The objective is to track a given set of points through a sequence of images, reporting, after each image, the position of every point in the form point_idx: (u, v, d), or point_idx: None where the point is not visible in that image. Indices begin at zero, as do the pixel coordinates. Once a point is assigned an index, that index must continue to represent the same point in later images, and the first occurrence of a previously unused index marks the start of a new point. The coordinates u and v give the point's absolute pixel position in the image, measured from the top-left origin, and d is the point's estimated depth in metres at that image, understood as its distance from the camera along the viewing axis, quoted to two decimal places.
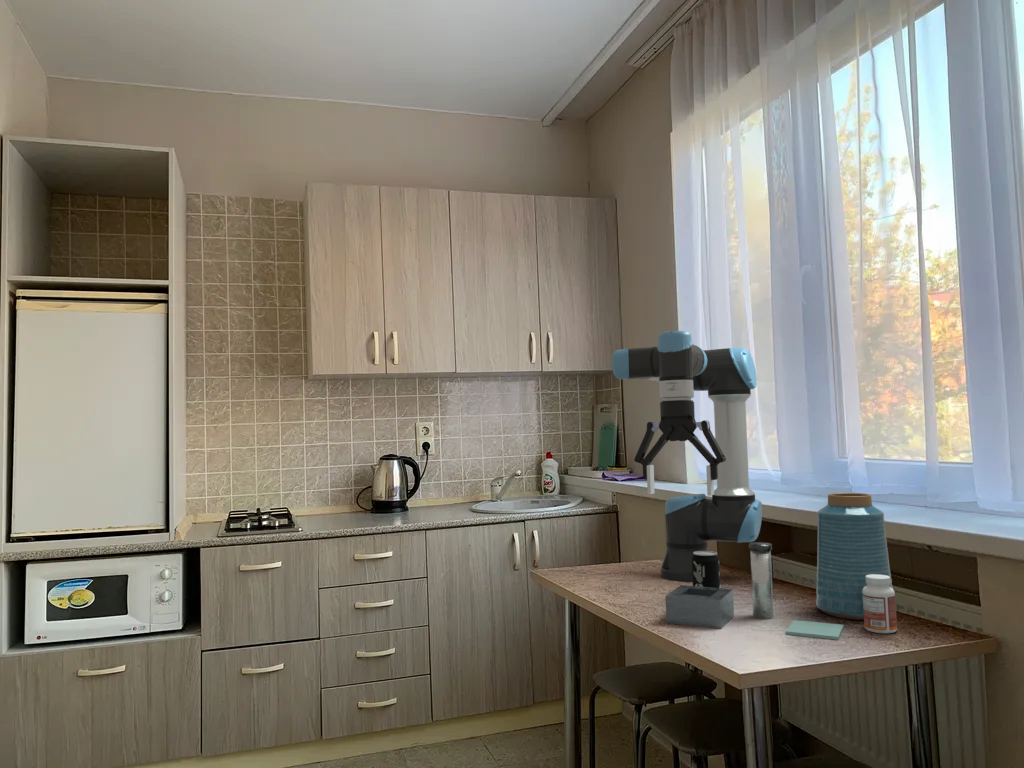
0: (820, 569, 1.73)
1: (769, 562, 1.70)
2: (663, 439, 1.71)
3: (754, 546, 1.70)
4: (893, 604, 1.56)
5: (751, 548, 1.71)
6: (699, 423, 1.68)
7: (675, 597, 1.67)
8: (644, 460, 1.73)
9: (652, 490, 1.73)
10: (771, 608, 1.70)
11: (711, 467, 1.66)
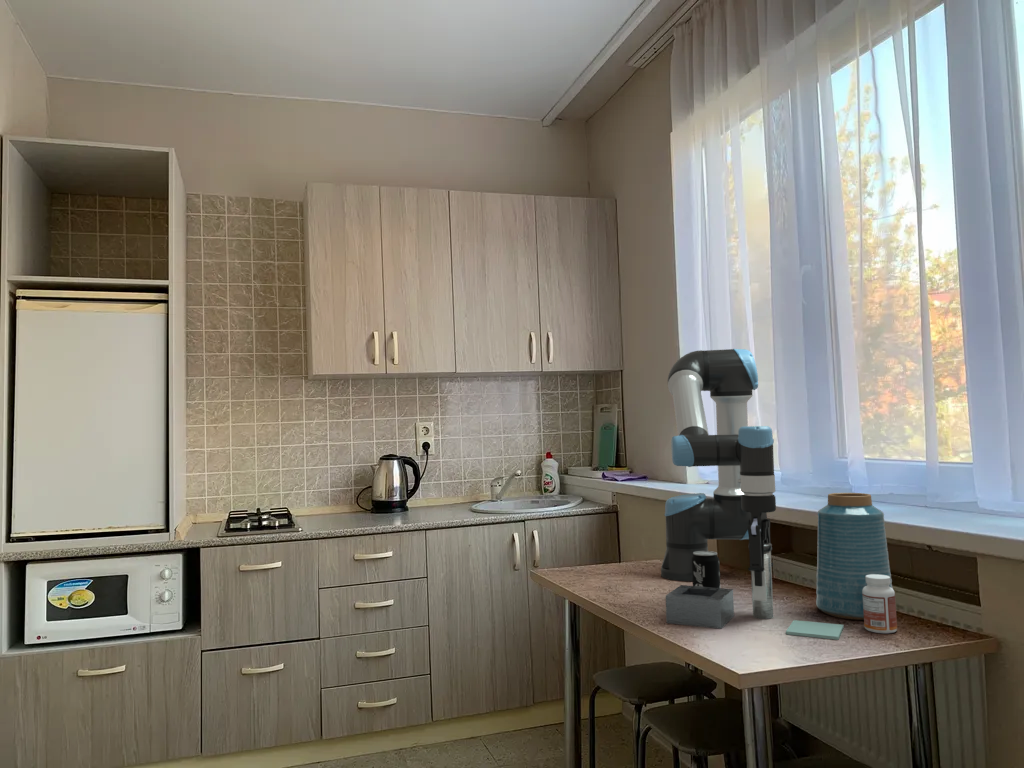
0: (820, 569, 1.73)
1: (769, 562, 1.70)
2: None
3: None
4: (893, 604, 1.56)
5: None
6: None
7: (675, 597, 1.67)
8: None
9: None
10: (771, 608, 1.70)
11: None
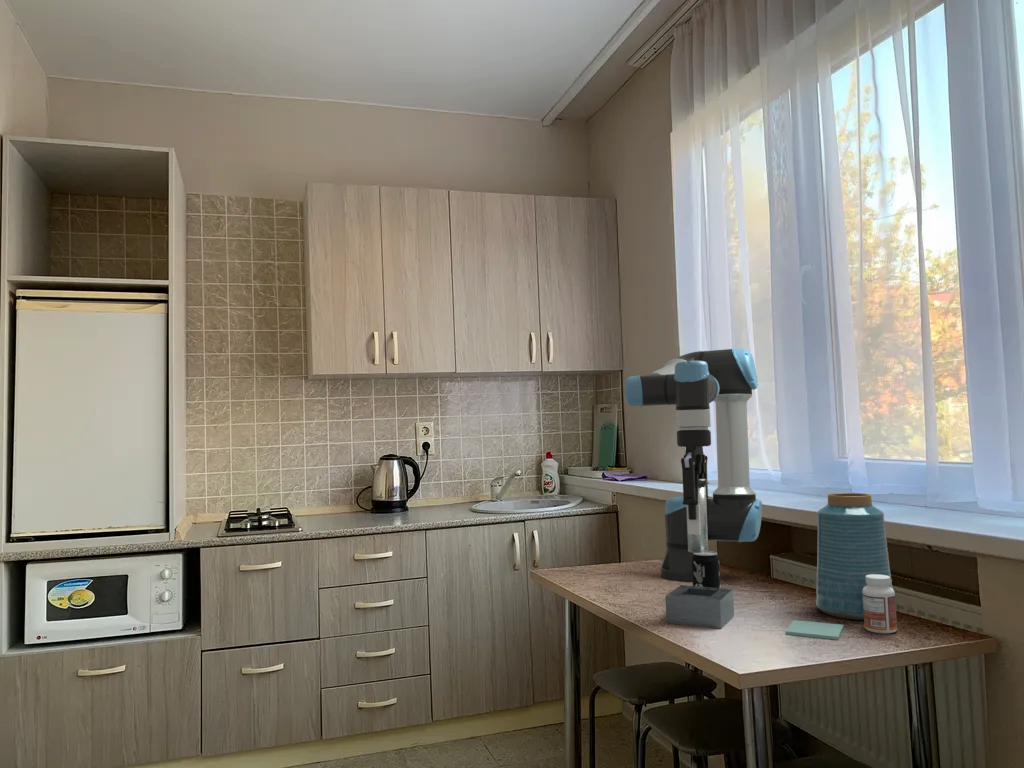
0: (820, 569, 1.73)
1: (704, 496, 1.70)
2: None
3: None
4: (893, 604, 1.56)
5: None
6: None
7: (675, 597, 1.67)
8: None
9: None
10: (706, 542, 1.69)
11: None
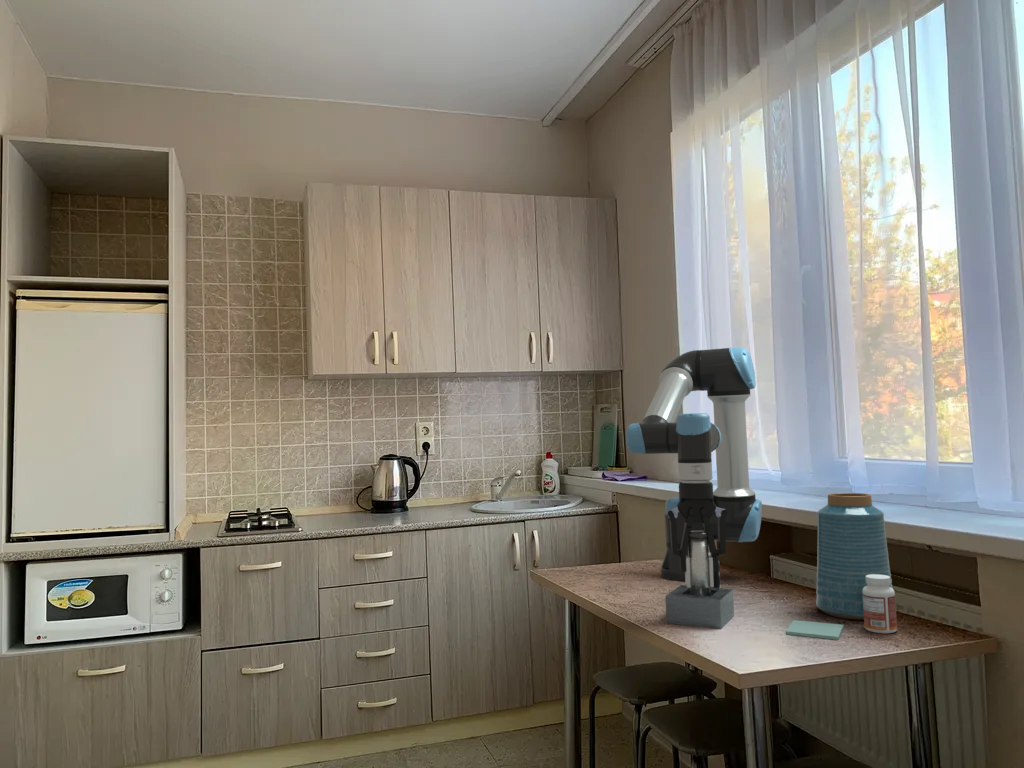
0: (820, 569, 1.73)
1: None
2: (691, 524, 1.70)
3: None
4: (893, 604, 1.56)
5: (707, 536, 1.69)
6: (719, 509, 1.71)
7: (675, 597, 1.67)
8: (682, 552, 1.70)
9: None
10: None
11: (713, 559, 1.70)
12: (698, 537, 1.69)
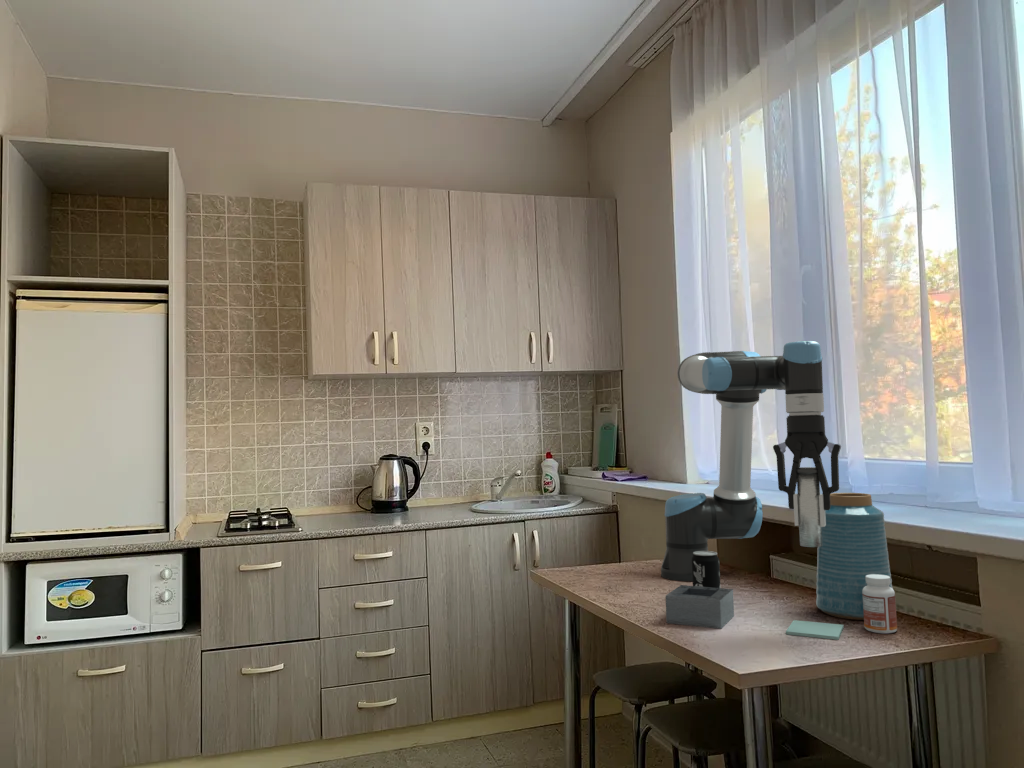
0: (820, 569, 1.73)
1: None
2: (798, 459, 1.60)
3: None
4: (893, 604, 1.56)
5: (816, 472, 1.58)
6: (831, 444, 1.58)
7: (675, 597, 1.67)
8: (789, 489, 1.61)
9: None
10: None
11: (824, 497, 1.58)
12: (805, 472, 1.58)
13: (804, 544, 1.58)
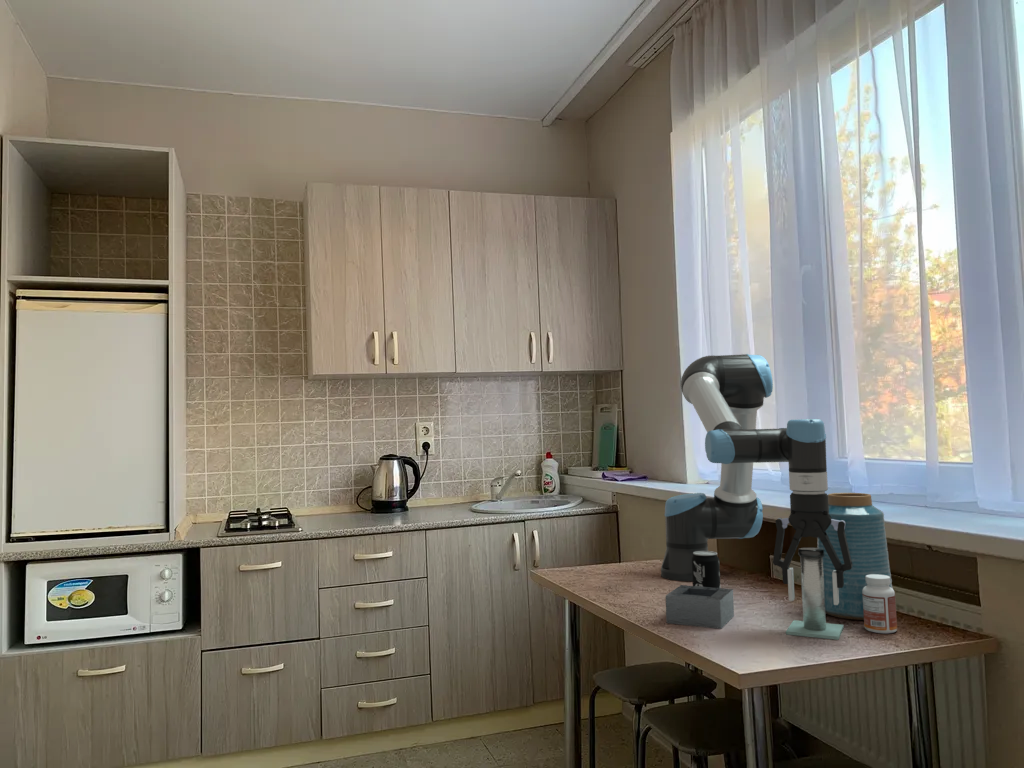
0: None
1: None
2: (799, 537, 1.59)
3: (822, 551, 1.58)
4: (893, 604, 1.56)
5: (820, 555, 1.57)
6: (835, 522, 1.57)
7: (675, 597, 1.67)
8: (784, 564, 1.61)
9: (793, 596, 1.60)
10: None
11: (838, 574, 1.56)
12: (808, 555, 1.57)
13: (808, 627, 1.57)
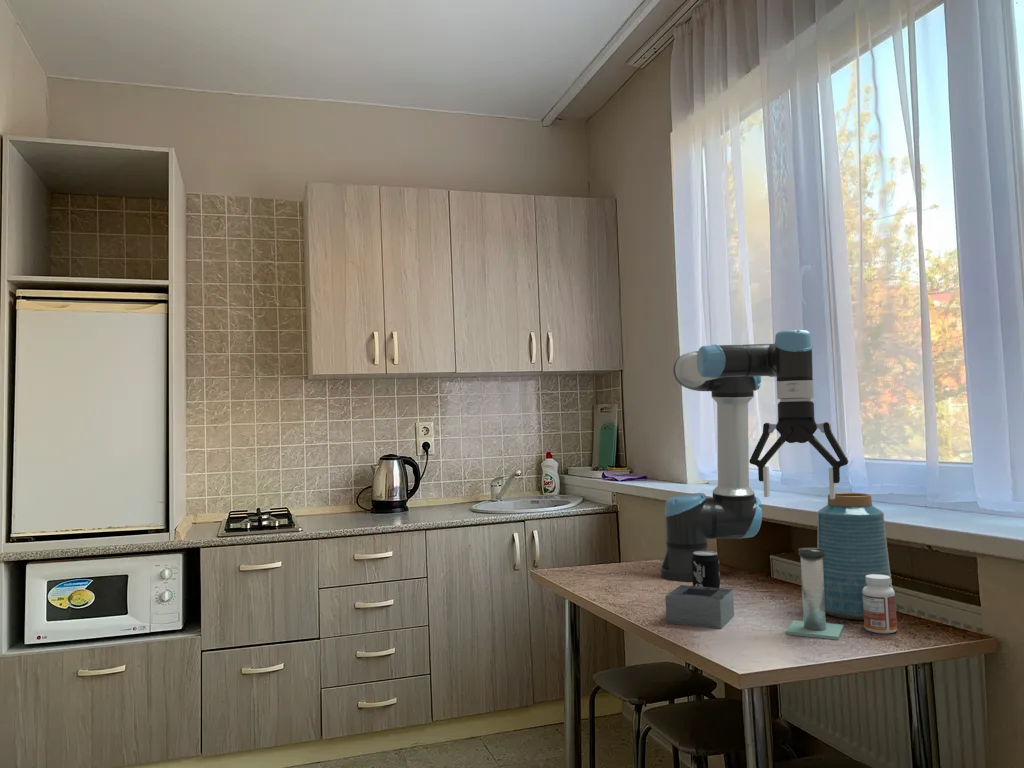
0: None
1: None
2: (782, 441, 1.67)
3: (822, 552, 1.58)
4: (893, 604, 1.56)
5: (820, 555, 1.57)
6: (820, 425, 1.64)
7: (675, 597, 1.67)
8: (760, 462, 1.69)
9: (768, 492, 1.69)
10: None
11: (834, 470, 1.62)
12: (808, 555, 1.57)
13: (808, 627, 1.57)
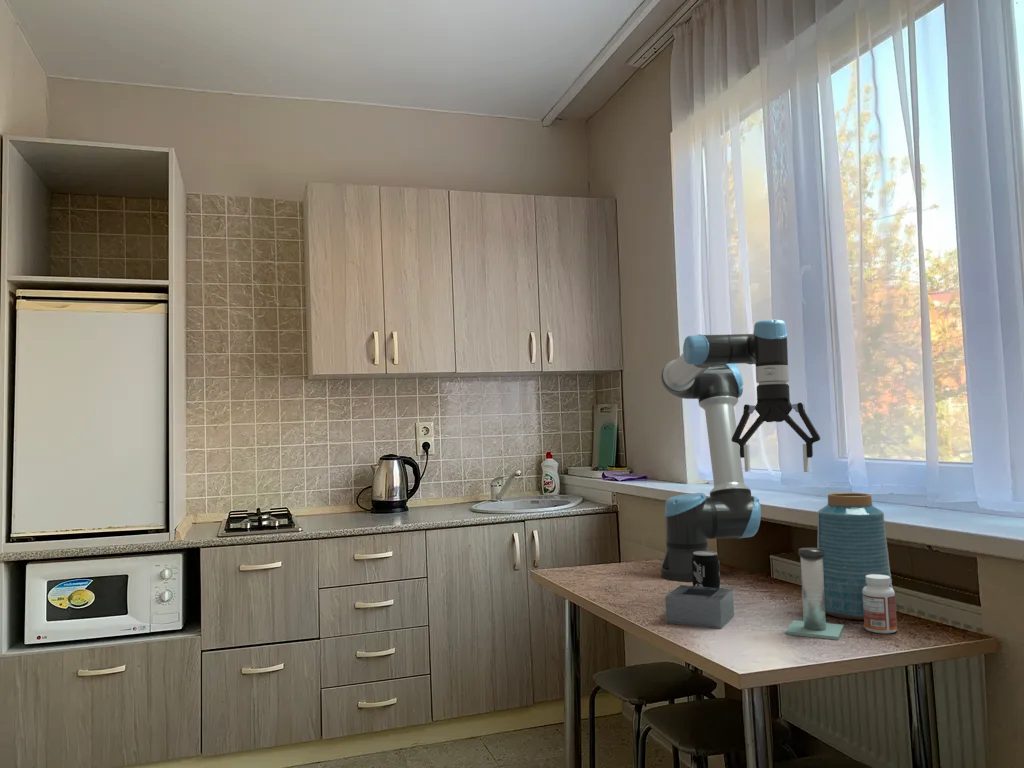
0: None
1: None
2: (760, 420, 1.84)
3: (822, 552, 1.58)
4: (893, 604, 1.56)
5: (820, 555, 1.57)
6: (795, 405, 1.81)
7: (675, 597, 1.67)
8: (741, 440, 1.86)
9: (748, 468, 1.86)
10: None
11: (807, 446, 1.80)
12: (808, 555, 1.57)
13: (808, 627, 1.57)
